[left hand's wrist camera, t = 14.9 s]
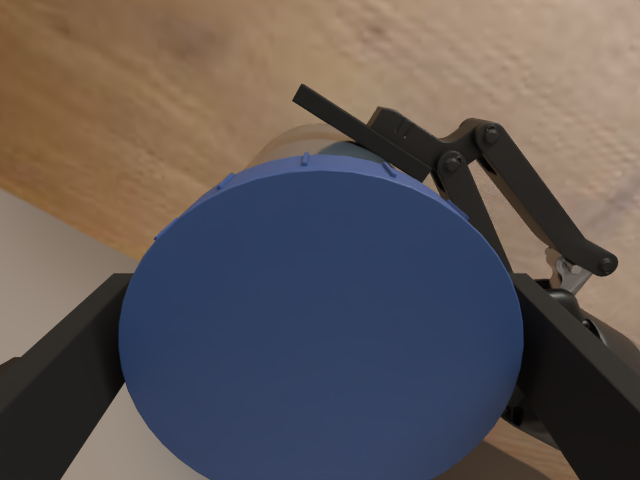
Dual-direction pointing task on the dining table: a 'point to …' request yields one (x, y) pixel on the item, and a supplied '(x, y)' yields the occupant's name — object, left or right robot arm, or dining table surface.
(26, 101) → the dining table surface
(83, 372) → the left robot arm
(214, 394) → the lid
